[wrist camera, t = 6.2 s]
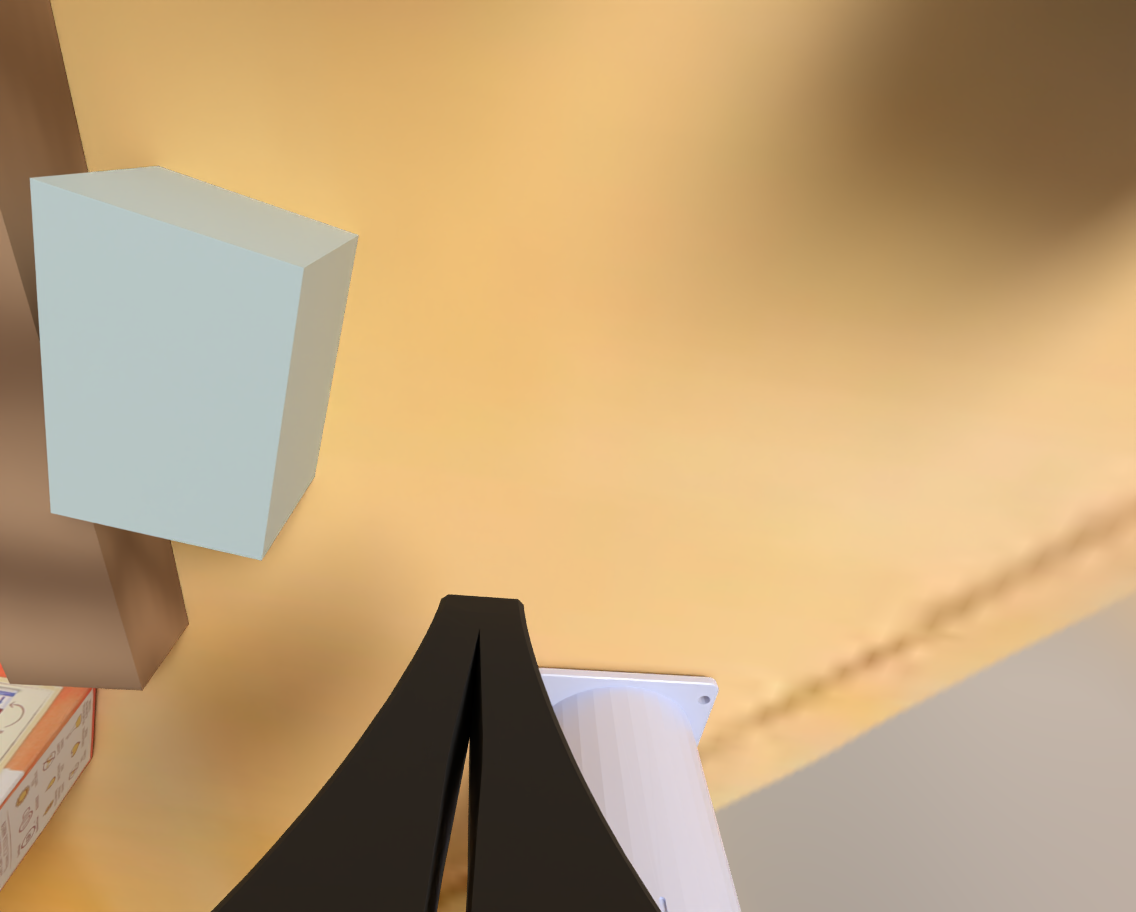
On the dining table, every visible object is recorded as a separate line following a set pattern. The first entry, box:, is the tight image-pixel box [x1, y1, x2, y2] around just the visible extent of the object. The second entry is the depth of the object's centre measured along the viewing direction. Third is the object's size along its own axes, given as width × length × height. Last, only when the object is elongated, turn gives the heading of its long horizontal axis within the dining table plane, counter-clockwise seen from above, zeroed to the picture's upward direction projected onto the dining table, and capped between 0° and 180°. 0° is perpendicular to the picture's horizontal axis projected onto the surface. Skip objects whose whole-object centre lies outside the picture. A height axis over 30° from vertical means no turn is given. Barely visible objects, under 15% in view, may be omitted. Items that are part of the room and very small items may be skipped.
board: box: [0, 0, 189, 690], centre depth 15 cm, size 22×4×3 cm, turn 172°
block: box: [30, 166, 359, 560], centre depth 15 cm, size 8×5×4 cm, turn 160°
